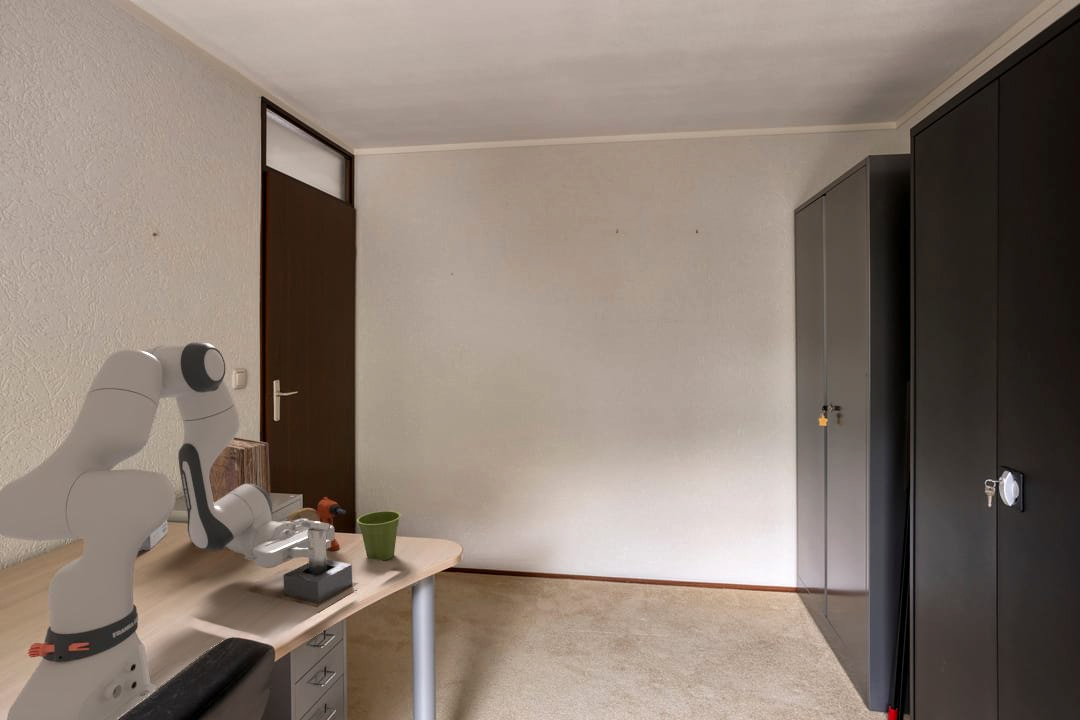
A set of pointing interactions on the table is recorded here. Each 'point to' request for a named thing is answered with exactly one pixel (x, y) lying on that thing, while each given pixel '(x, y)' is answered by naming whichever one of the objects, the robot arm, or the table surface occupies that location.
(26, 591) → the table surface
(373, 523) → the plant pot
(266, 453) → the book
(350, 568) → the square socket block
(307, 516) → the stone disc
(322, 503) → the toy drill
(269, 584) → the beige thin flat slab
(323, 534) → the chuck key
